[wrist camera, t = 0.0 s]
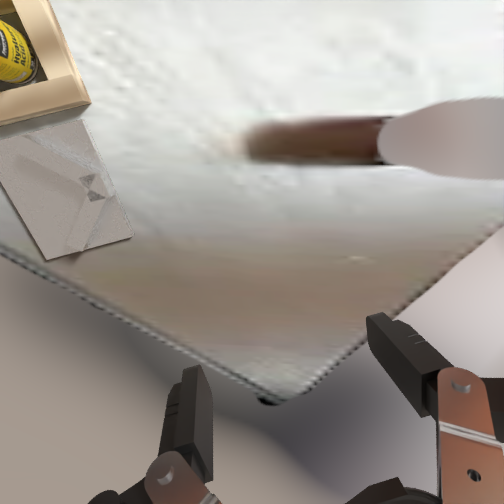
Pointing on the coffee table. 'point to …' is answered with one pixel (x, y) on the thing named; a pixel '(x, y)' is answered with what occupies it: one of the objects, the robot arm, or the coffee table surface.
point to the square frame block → (53, 62)
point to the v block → (62, 189)
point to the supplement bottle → (16, 56)
